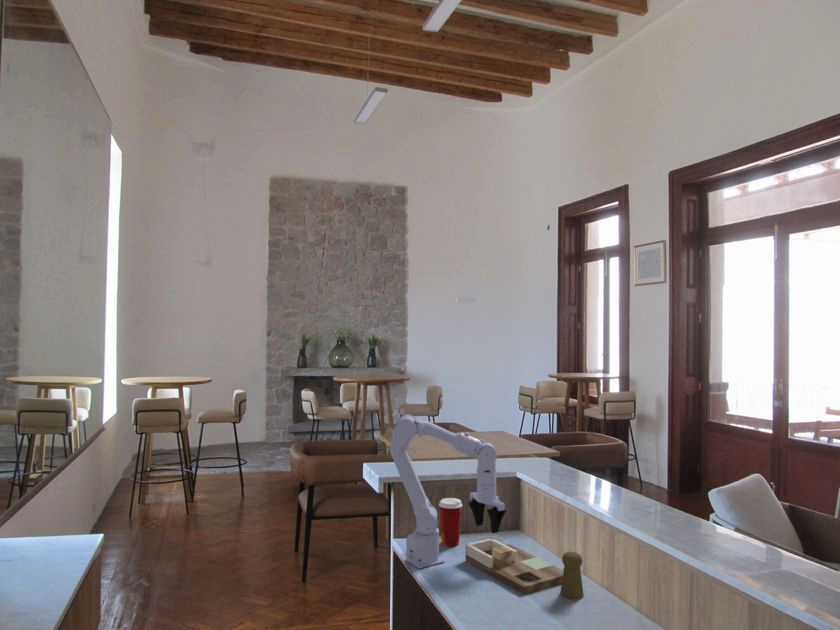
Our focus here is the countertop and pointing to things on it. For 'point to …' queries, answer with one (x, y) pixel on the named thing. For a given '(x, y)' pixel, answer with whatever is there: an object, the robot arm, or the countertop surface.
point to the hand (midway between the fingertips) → (487, 528)
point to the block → (502, 556)
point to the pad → (536, 563)
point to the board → (522, 573)
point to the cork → (572, 576)
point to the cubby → (479, 547)
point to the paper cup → (450, 521)
